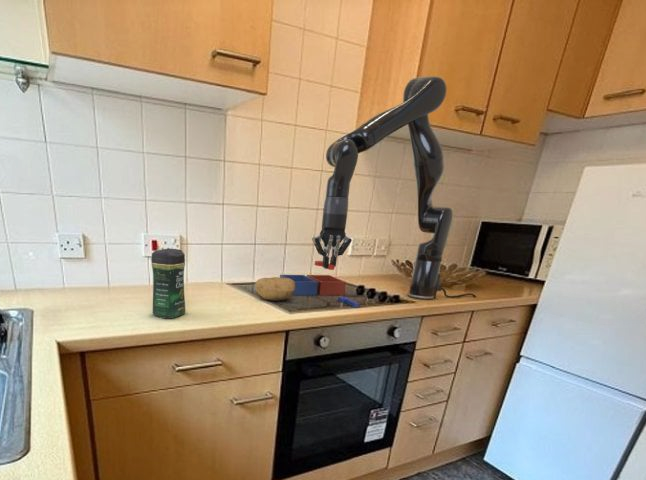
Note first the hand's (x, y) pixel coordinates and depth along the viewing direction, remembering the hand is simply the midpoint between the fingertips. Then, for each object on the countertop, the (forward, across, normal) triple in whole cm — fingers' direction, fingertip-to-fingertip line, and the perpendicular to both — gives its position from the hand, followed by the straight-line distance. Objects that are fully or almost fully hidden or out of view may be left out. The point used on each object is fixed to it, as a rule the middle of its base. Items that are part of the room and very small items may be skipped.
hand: (328, 268), depth 134 cm
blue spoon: (+13, +10, +2) cm, 16 cm away
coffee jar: (+12, -53, -10) cm, 55 cm away
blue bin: (+13, -1, +23) cm, 27 cm away
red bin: (+13, +10, +23) cm, 28 cm away
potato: (+13, -16, +7) cm, 22 cm away
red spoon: (0, 0, +4) cm, 4 cm away
